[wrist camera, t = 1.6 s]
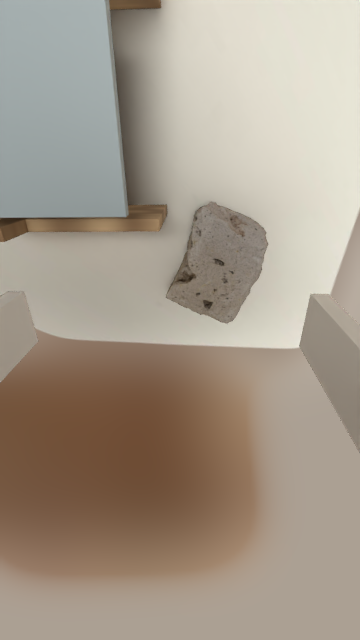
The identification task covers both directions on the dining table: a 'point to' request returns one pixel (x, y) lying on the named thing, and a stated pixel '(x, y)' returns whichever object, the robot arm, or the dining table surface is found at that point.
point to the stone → (219, 263)
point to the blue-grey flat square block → (59, 111)
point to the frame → (135, 221)
